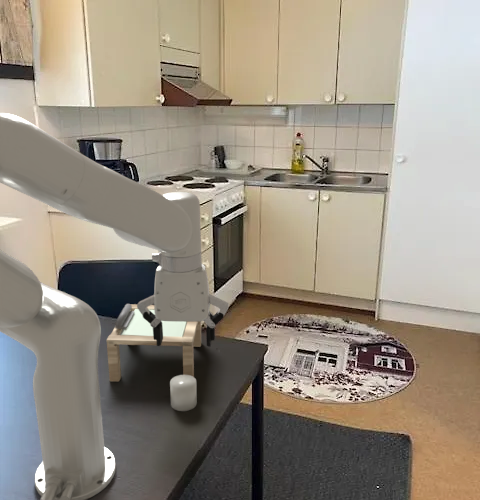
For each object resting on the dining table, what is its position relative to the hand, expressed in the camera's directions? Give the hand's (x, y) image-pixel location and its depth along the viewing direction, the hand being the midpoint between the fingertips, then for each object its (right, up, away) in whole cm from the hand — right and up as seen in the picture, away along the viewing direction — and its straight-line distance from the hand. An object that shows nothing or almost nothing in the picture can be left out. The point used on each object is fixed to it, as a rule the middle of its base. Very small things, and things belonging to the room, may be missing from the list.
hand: (184, 342), depth 97 cm
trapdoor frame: (-8, -8, +19) cm, 22 cm away
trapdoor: (-9, +1, +16) cm, 19 cm away
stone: (-1, -13, +4) cm, 13 cm away
